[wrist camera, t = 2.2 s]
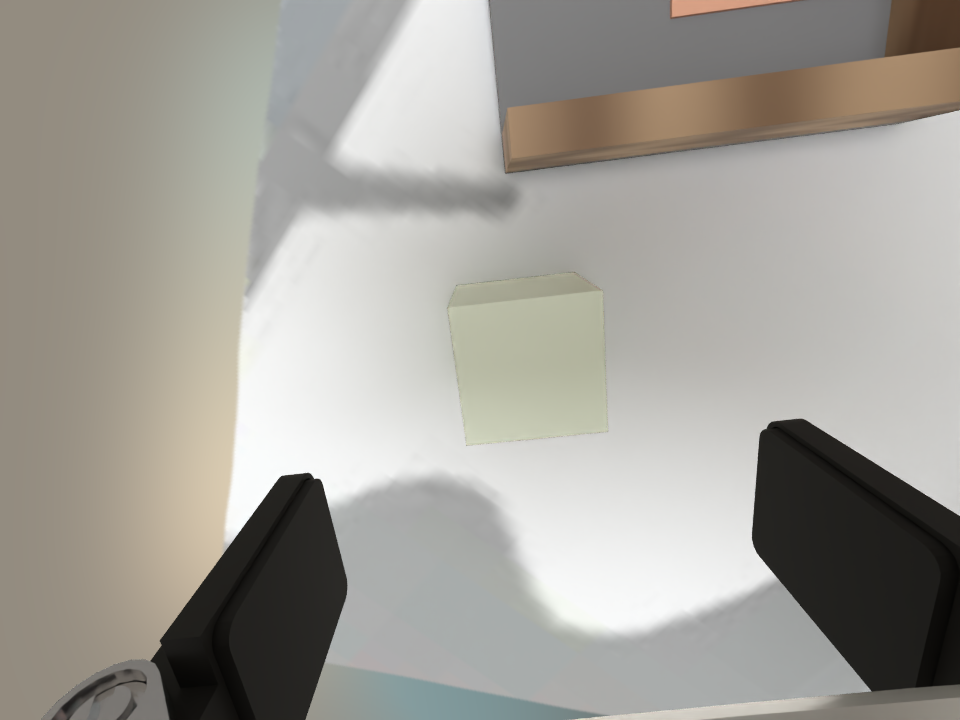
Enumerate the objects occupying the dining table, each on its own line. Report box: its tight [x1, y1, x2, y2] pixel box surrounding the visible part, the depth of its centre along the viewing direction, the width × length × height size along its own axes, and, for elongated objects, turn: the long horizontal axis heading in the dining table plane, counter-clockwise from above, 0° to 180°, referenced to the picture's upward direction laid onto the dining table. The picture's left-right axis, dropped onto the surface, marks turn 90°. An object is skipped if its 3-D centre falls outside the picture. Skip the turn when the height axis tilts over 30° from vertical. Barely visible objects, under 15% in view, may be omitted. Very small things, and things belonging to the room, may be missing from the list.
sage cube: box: [447, 272, 608, 446], centre depth 21 cm, size 6×6×6 cm
